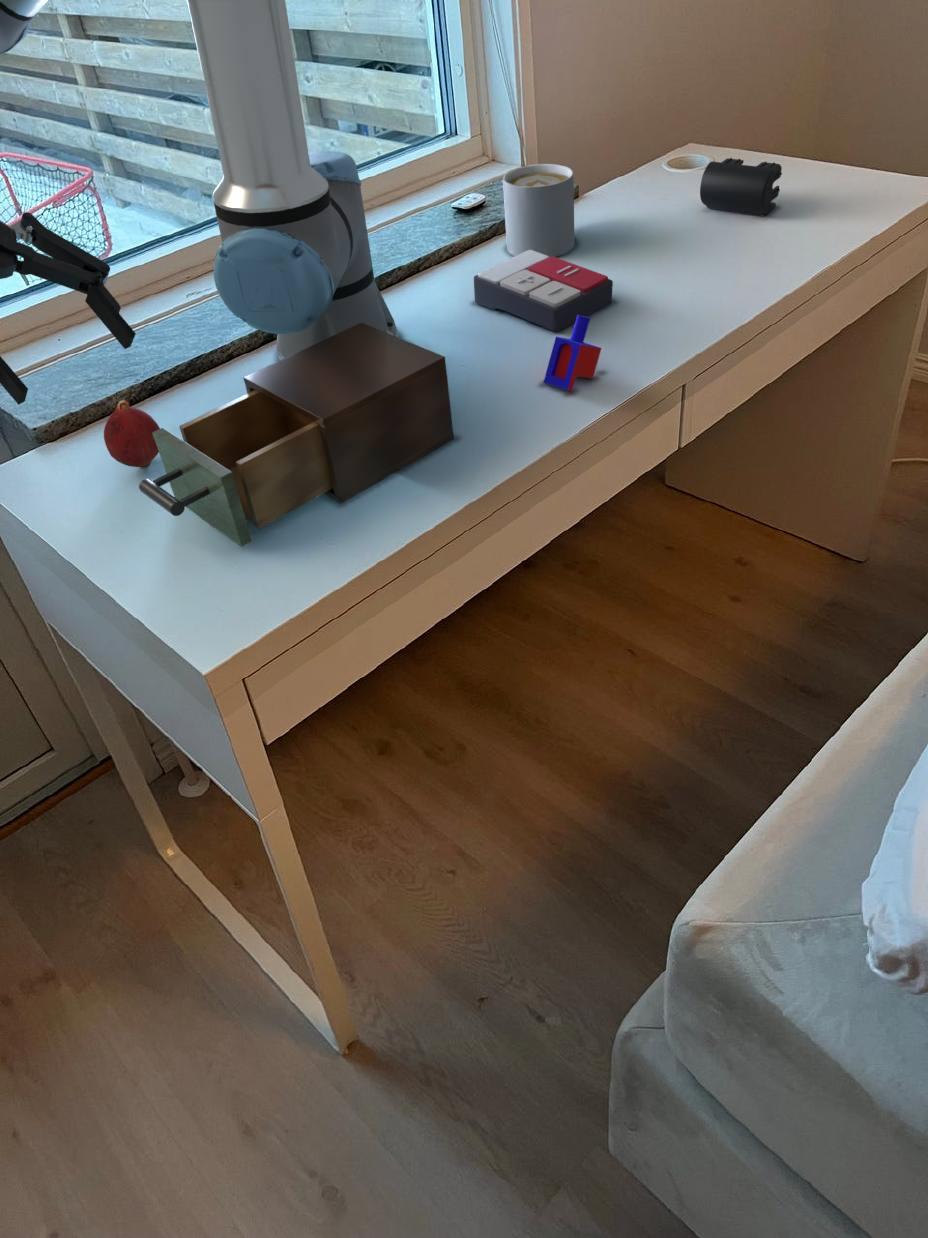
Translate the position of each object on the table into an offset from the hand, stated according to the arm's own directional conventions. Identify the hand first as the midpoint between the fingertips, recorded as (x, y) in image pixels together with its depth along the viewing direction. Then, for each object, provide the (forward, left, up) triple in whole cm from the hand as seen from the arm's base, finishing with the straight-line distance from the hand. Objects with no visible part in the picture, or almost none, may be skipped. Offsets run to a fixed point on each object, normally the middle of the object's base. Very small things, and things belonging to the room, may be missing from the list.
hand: (79, 368), depth 101 cm
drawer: (+21, +5, -10) cm, 24 cm away
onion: (+5, +1, -11) cm, 12 cm away
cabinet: (+21, +19, -11) cm, 30 cm away
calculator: (+12, +57, -11) cm, 59 cm away
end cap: (+14, +98, -11) cm, 100 cm away
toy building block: (+29, +44, -11) cm, 54 cm away
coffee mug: (-2, +73, -11) cm, 74 cm away
